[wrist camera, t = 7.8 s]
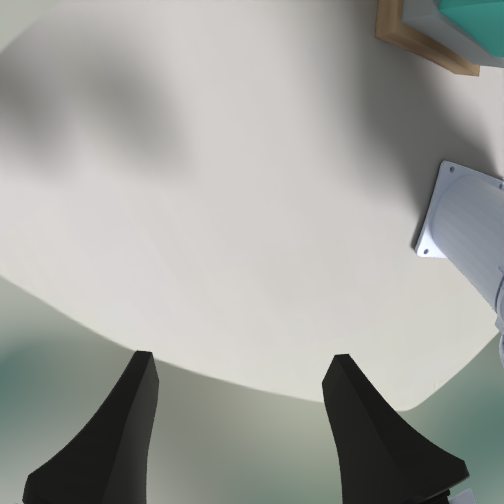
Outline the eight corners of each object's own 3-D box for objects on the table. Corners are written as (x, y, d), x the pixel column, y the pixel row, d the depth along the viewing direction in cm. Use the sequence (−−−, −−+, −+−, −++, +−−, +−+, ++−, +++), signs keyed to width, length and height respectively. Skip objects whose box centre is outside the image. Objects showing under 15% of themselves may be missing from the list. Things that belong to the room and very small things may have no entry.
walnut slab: (456, 0, 11) (481, -4, 8) (452, 73, 14) (478, 76, 12) (378, -41, 10) (398, -54, 7) (372, 37, 13) (395, 31, 11)
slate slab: (476, -3, 8) (505, -7, 6) (473, 64, 11) (505, 68, 9) (406, -49, 7) (432, -63, 5) (400, 22, 10) (431, 14, 8)
